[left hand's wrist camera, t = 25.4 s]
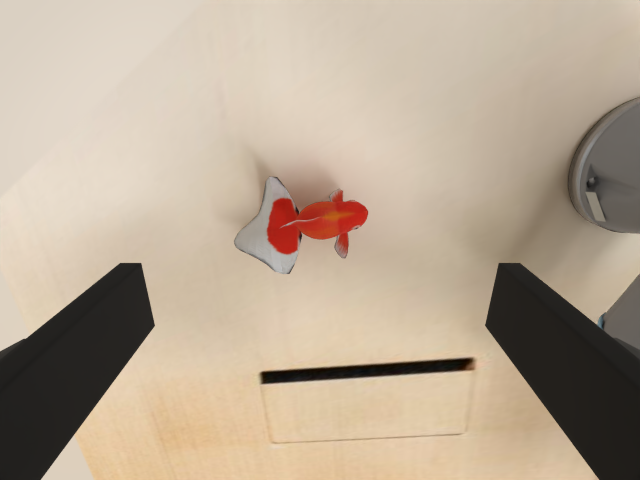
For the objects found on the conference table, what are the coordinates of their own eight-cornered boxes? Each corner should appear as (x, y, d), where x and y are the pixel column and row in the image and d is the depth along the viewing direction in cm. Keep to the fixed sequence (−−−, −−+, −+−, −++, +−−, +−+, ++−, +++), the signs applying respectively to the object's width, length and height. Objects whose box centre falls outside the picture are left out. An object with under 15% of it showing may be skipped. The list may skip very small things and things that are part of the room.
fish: (368, 285, 40) (338, 298, 31) (258, 261, 46) (206, 266, 37) (382, 194, 39) (356, 179, 30) (268, 182, 46) (218, 167, 36)
